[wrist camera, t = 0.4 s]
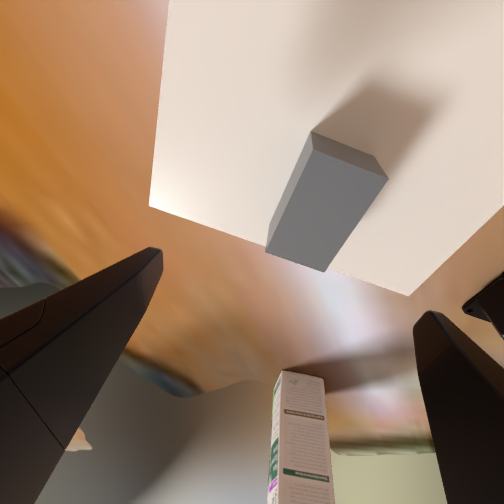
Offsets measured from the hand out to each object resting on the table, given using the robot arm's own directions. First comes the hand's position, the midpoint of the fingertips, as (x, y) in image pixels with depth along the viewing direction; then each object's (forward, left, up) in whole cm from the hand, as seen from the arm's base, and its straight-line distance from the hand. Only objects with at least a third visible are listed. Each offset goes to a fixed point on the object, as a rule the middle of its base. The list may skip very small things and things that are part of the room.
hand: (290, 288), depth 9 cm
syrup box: (-13, +28, -13) cm, 33 cm away
